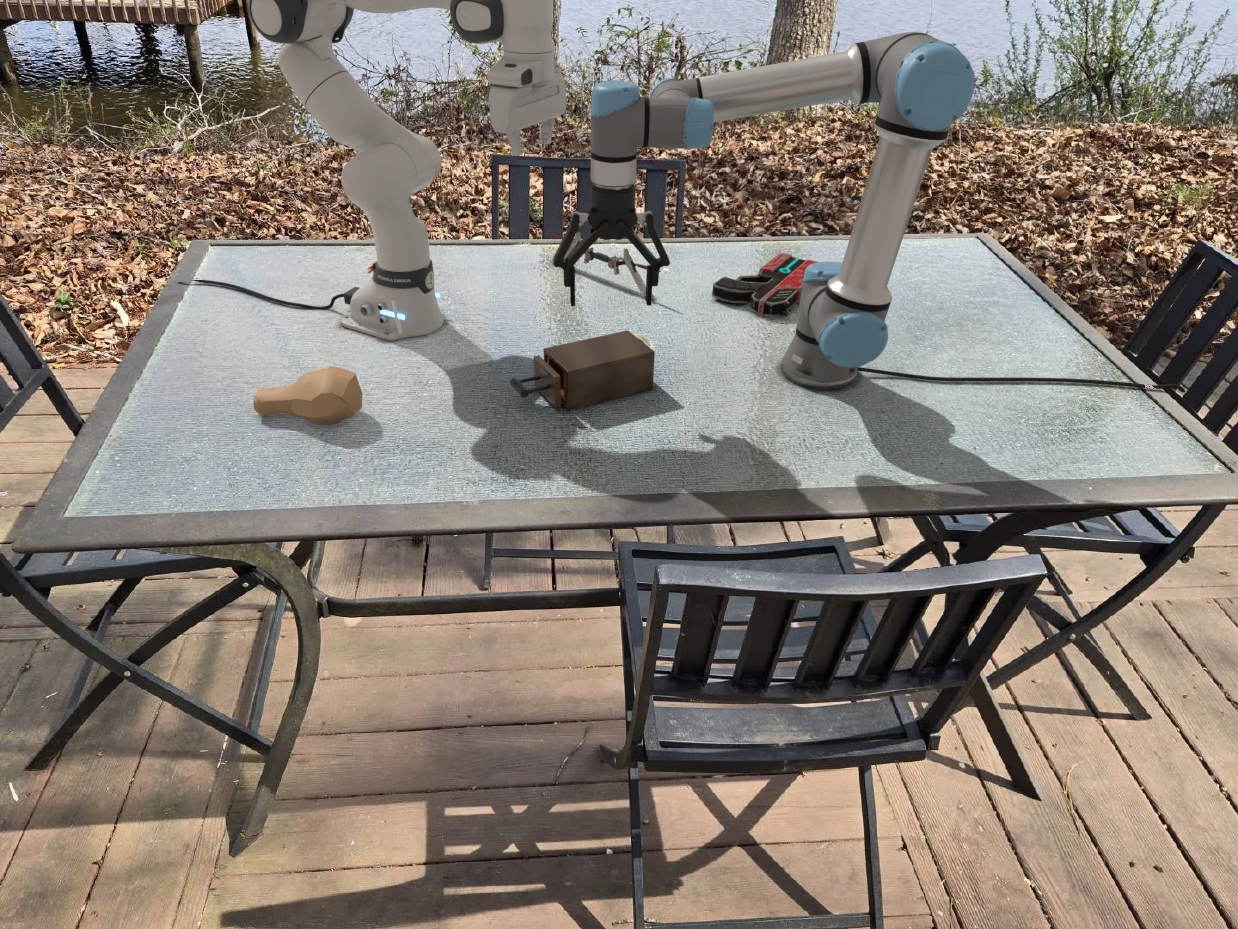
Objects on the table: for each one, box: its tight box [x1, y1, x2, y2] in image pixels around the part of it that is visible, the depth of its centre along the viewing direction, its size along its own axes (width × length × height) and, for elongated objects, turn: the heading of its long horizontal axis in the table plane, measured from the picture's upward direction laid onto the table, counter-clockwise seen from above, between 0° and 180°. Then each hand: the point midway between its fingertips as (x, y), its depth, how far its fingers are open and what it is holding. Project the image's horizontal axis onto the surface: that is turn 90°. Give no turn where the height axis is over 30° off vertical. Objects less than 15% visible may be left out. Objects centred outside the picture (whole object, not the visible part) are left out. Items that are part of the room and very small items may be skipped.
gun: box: [711, 252, 819, 318], centre depth 215 cm, size 4×31×19 cm
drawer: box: [509, 355, 566, 408], centre depth 168 cm, size 24×10×6 cm, turn 119°
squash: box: [252, 365, 363, 426], centre depth 159 cm, size 11×20×9 cm, turn 90°
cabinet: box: [543, 330, 656, 411], centre depth 171 cm, size 19×11×8 cm, turn 119°
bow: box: [546, 230, 662, 298], centre depth 217 cm, size 39×2×10 cm, turn 47°
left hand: (531, 148), depth 161 cm, fingers open, 8 cm apart
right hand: (610, 303), depth 157 cm, fingers open, 13 cm apart
